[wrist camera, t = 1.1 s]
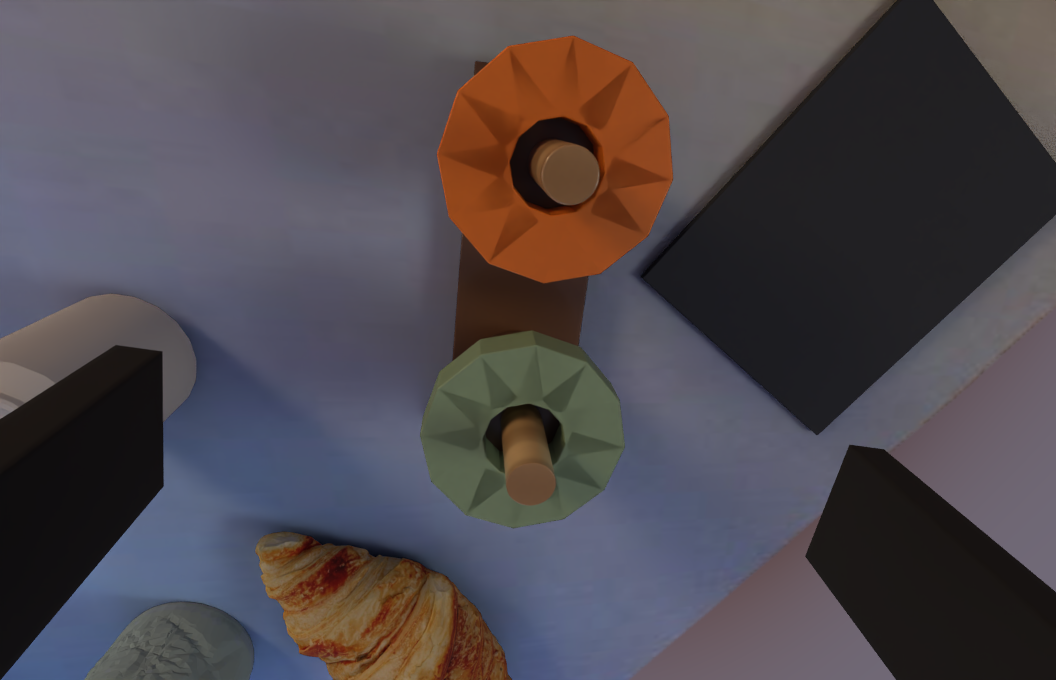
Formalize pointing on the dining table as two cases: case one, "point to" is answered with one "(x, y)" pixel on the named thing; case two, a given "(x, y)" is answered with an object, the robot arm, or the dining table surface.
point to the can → (93, 348)
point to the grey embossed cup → (178, 646)
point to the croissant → (376, 614)
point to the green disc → (510, 380)
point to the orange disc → (606, 119)
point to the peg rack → (528, 297)
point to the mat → (862, 217)
